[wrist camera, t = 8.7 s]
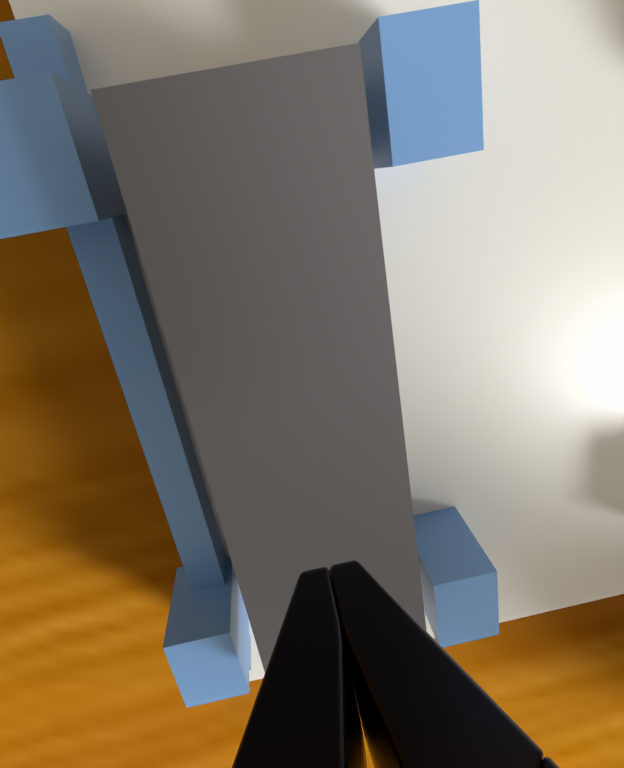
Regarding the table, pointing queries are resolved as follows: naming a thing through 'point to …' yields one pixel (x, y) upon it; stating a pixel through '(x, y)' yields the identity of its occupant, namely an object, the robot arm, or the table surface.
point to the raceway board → (404, 280)
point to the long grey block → (275, 312)
